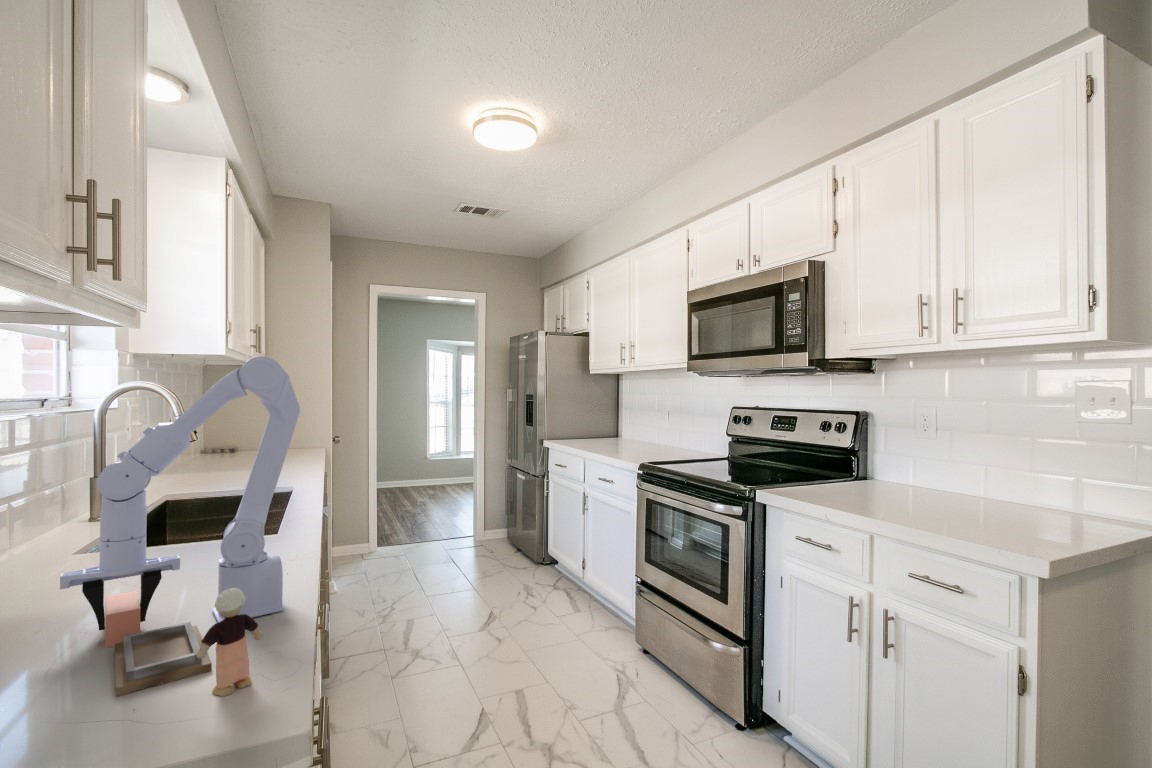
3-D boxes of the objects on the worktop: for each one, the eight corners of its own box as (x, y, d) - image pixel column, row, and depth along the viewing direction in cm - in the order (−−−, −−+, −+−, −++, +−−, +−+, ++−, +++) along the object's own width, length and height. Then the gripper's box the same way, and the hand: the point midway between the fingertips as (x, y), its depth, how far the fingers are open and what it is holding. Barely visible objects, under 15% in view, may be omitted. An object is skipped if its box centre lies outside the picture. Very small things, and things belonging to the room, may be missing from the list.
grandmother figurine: (245, 672, 75) (246, 578, 75) (266, 677, 74) (267, 581, 74) (188, 701, 68) (189, 597, 68) (209, 708, 66) (210, 601, 67)
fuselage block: (136, 620, 92) (137, 590, 92) (140, 641, 85) (140, 608, 85) (105, 627, 90) (105, 596, 90) (105, 649, 82) (106, 615, 82)
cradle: (196, 631, 88) (196, 617, 88) (211, 670, 75) (211, 654, 75) (114, 650, 81) (114, 635, 81) (116, 696, 69) (116, 678, 69)
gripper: (177, 525, 95) (176, 605, 95) (62, 539, 86) (61, 628, 85) (181, 533, 90) (180, 617, 89) (59, 549, 80) (58, 644, 80)
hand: (122, 623), depth 87 cm, fingers open, 4 cm apart
